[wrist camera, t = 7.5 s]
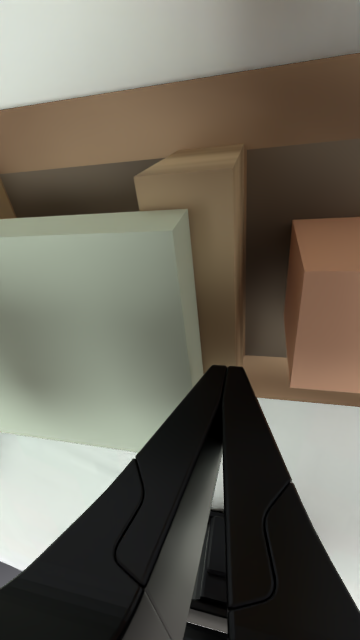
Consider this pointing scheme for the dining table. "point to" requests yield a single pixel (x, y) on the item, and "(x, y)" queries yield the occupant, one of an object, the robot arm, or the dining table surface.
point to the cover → (96, 326)
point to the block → (324, 305)
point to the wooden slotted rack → (207, 185)
